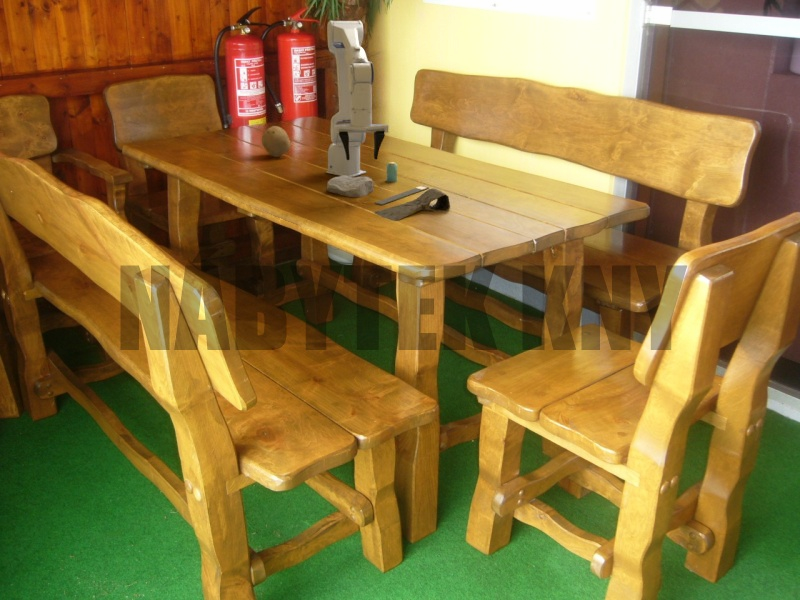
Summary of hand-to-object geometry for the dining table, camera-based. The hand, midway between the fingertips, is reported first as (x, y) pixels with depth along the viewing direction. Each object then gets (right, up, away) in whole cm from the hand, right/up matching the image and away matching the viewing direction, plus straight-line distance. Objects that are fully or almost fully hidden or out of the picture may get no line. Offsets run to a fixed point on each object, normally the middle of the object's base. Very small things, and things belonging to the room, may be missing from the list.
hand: (361, 159), depth 226 cm
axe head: (+14, -17, -12) cm, 25 cm away
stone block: (-4, -9, +5) cm, 11 cm away
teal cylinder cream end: (+8, -4, +16) cm, 18 cm away
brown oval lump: (-30, +8, +42) cm, 52 cm away
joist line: (+11, -10, +2) cm, 15 cm away
